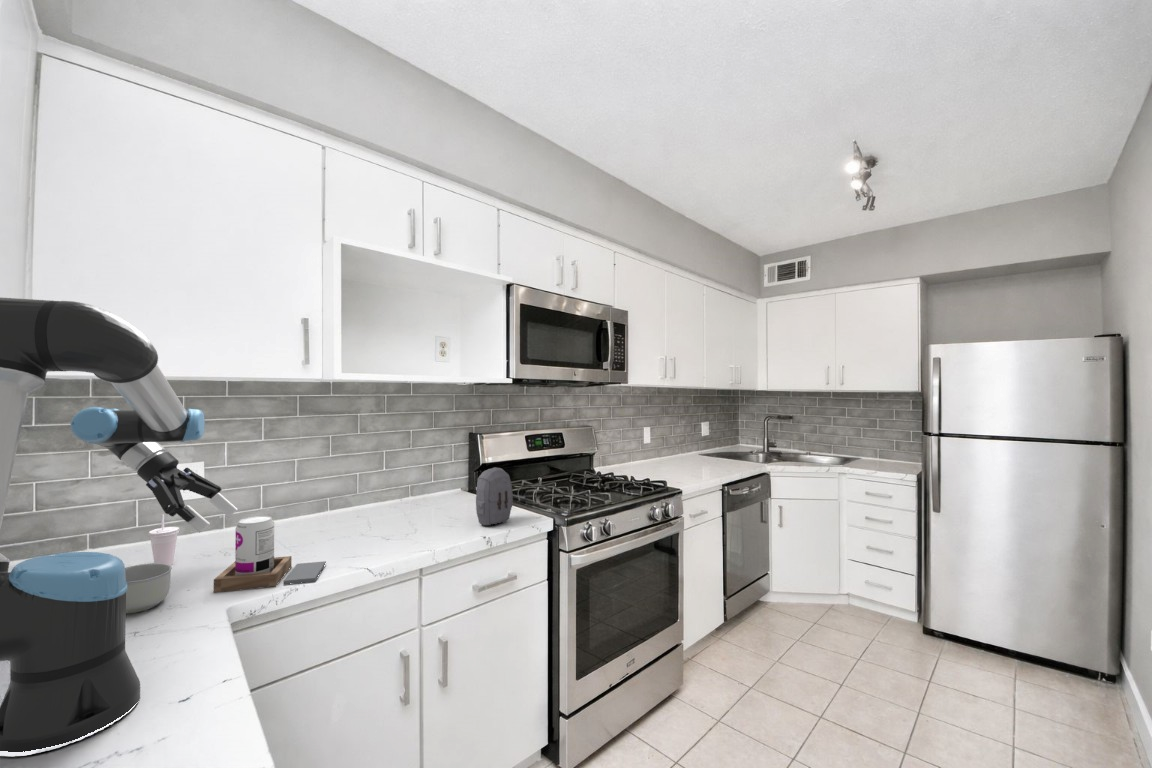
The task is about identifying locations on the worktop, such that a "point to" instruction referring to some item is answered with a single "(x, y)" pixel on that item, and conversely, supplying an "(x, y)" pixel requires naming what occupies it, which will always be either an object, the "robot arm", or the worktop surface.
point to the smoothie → (164, 543)
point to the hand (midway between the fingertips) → (219, 520)
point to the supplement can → (254, 545)
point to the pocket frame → (251, 577)
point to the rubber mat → (304, 572)
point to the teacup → (146, 585)
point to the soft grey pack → (493, 496)
